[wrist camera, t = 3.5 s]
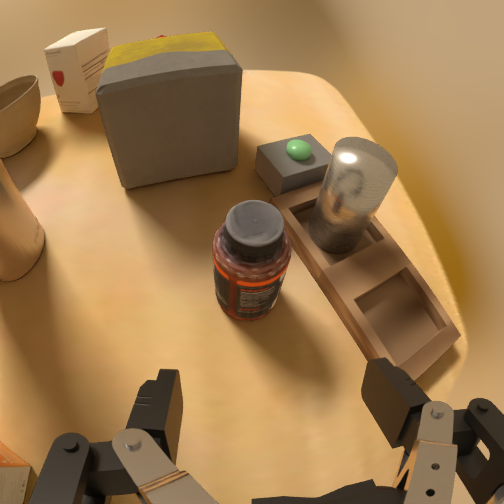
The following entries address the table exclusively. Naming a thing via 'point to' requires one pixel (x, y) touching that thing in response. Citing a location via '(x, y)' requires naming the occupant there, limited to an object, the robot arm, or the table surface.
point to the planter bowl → (18, 113)
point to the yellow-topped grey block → (171, 108)
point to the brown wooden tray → (373, 290)
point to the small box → (12, 477)
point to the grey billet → (350, 194)
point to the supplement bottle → (250, 259)
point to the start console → (292, 163)
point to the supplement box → (78, 68)
